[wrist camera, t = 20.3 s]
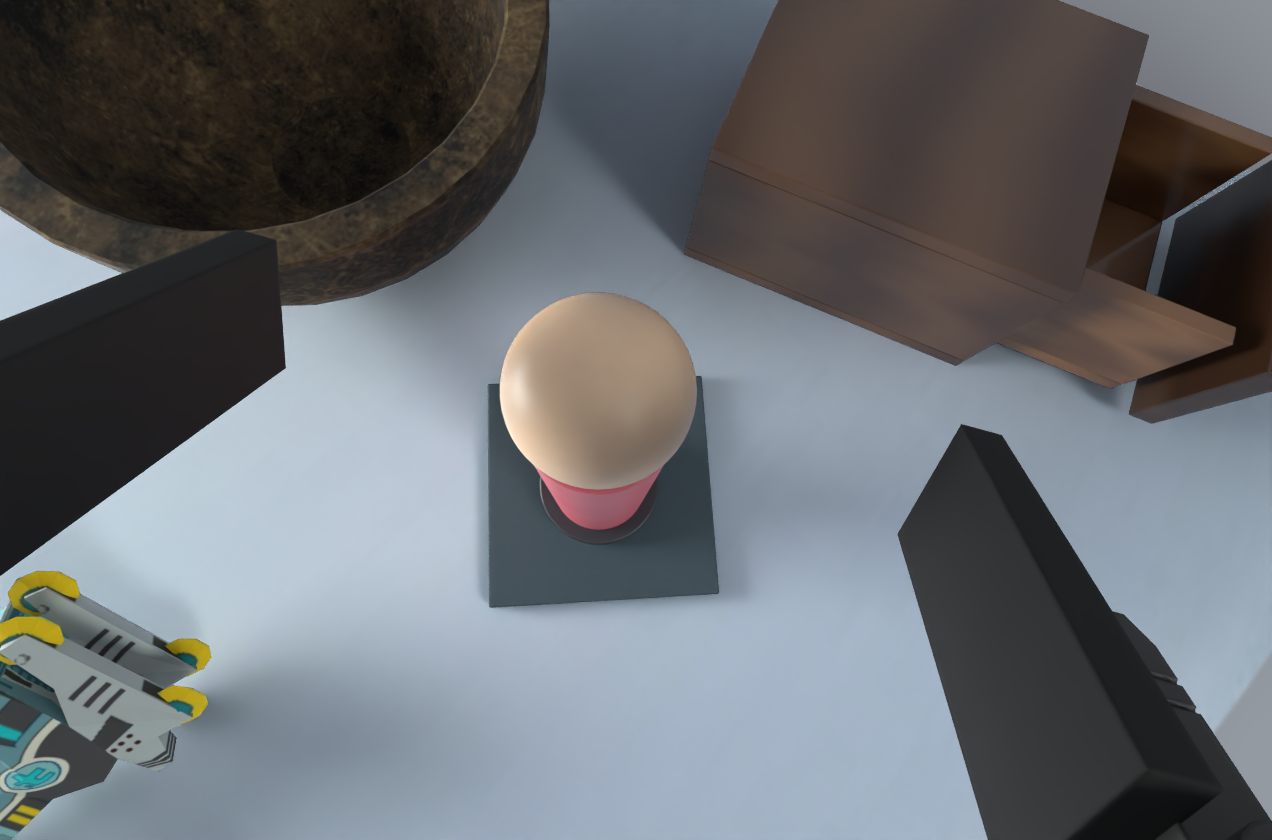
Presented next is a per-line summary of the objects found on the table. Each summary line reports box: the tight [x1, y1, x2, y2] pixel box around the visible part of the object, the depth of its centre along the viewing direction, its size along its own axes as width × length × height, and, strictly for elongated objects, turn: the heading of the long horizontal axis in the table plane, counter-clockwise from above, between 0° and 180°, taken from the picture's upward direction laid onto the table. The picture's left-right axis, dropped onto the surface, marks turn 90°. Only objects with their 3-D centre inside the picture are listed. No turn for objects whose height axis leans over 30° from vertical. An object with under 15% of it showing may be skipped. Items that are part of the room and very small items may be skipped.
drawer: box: [997, 85, 1272, 423], centre depth 30 cm, size 17×11×7 cm, turn 67°
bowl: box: [0, 0, 549, 306], centre depth 28 cm, size 22×22×10 cm
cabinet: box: [684, 0, 1149, 365], centre depth 30 cm, size 15×13×9 cm
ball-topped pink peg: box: [500, 293, 697, 545], centre depth 21 cm, size 5×5×18 cm
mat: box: [488, 376, 719, 608], centre depth 30 cm, size 10×10×1 cm
